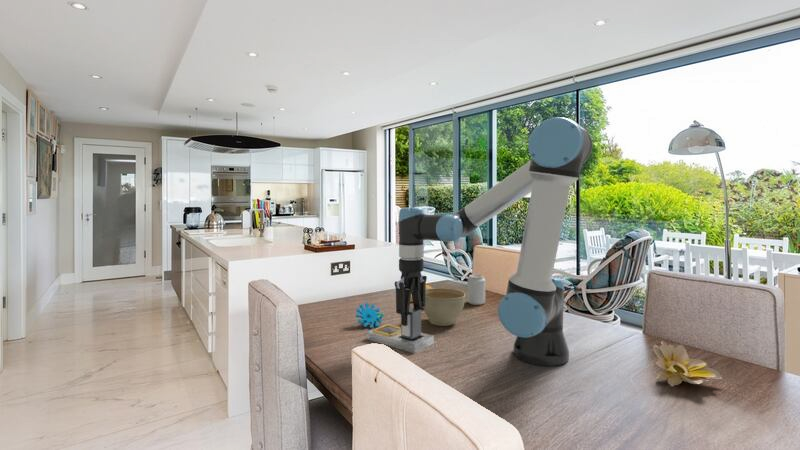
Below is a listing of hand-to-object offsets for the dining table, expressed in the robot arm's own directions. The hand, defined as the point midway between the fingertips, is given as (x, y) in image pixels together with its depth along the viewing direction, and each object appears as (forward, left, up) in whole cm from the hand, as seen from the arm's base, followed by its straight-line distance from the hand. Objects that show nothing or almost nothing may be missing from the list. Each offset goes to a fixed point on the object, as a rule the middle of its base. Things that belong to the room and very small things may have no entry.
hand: (411, 332), depth 127 cm
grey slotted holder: (+4, 0, -4) cm, 6 cm away
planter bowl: (+4, -25, -4) cm, 26 cm away
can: (+7, -56, -4) cm, 57 cm away
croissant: (+30, -48, -4) cm, 57 cm away
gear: (+23, -6, -4) cm, 24 cm away
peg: (0, 0, -4) cm, 4 cm away
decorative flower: (-68, -20, -4) cm, 71 cm away
